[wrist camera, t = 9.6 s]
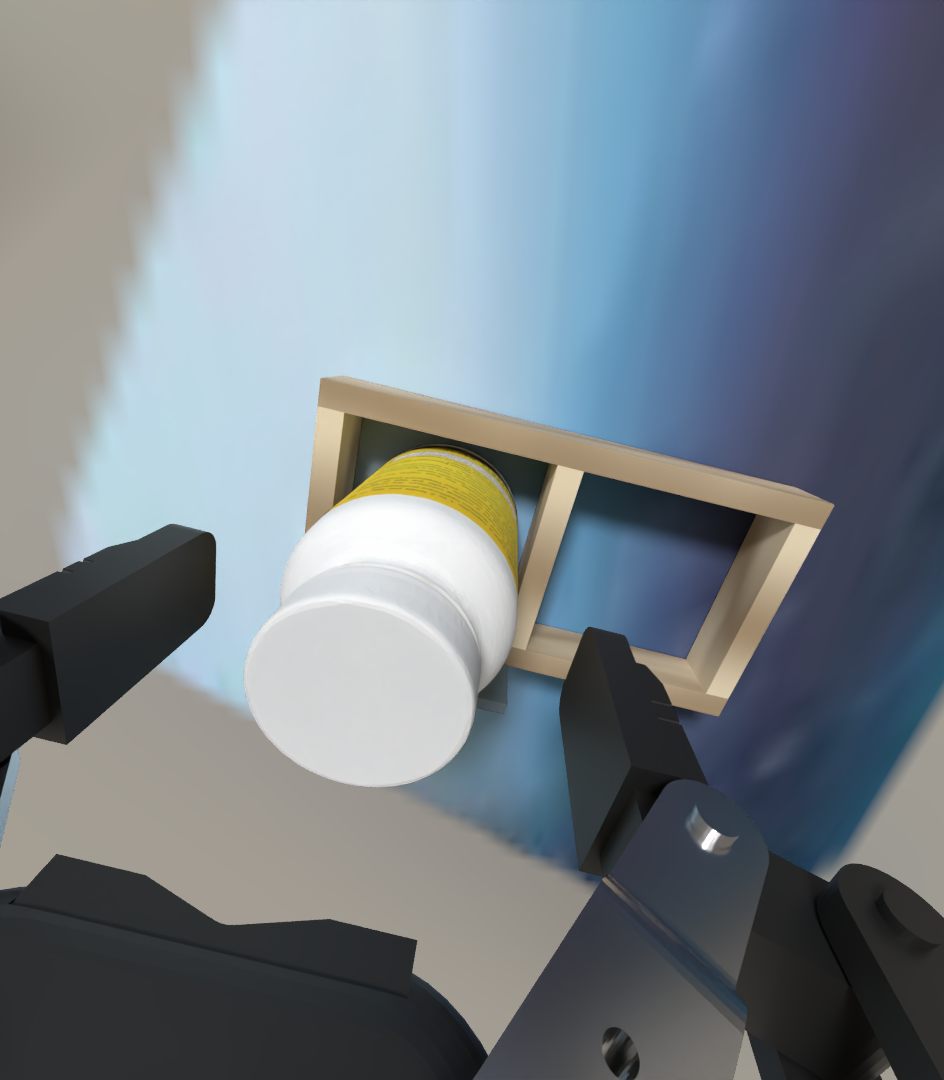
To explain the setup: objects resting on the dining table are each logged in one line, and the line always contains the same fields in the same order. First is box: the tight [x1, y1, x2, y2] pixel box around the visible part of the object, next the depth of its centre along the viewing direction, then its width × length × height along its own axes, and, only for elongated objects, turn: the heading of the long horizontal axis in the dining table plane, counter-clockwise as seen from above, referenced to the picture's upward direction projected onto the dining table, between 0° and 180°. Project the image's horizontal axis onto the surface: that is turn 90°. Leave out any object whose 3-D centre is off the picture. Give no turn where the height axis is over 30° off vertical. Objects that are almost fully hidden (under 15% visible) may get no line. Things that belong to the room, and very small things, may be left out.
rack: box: [305, 376, 834, 716], centre depth 15 cm, size 8×15×4 cm, turn 77°
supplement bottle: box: [244, 444, 518, 787], centre depth 12 cm, size 5×5×10 cm
